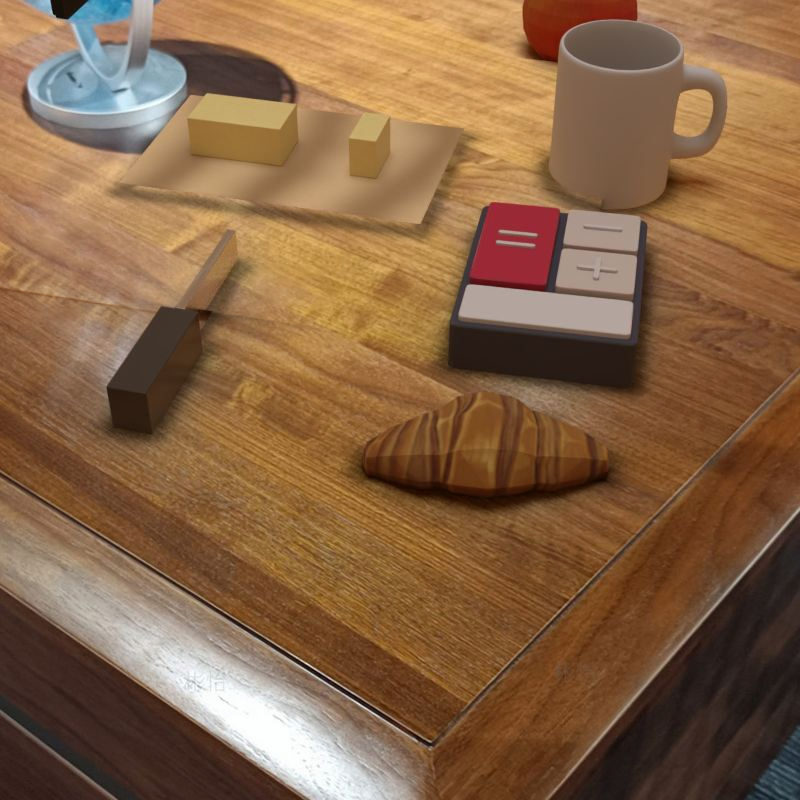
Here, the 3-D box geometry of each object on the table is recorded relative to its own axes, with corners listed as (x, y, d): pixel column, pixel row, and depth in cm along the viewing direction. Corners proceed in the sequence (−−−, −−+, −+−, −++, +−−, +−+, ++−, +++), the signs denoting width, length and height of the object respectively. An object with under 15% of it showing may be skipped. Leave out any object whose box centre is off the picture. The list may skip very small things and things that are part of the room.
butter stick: (190, 154, 99) (186, 117, 97) (210, 129, 102) (206, 92, 100) (282, 166, 98) (279, 129, 96) (298, 140, 101) (296, 103, 99)
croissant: (601, 437, 77) (610, 367, 74) (614, 520, 72) (624, 449, 69) (364, 434, 77) (362, 364, 74) (359, 517, 72) (357, 446, 69)
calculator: (649, 209, 89) (639, 334, 77) (641, 266, 91) (631, 395, 80) (483, 193, 90) (448, 313, 79) (480, 249, 93) (446, 373, 81)
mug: (548, 215, 95) (561, 70, 88) (545, 155, 102) (556, 16, 95) (720, 220, 95) (746, 75, 88) (705, 160, 101) (728, 20, 94)
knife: (153, 442, 76) (145, 393, 74) (114, 436, 77) (105, 386, 75) (253, 278, 89) (249, 231, 87) (218, 273, 90) (214, 226, 87)
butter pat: (349, 175, 97) (348, 137, 95) (364, 148, 100) (363, 111, 98) (376, 179, 96) (376, 141, 94) (390, 152, 99) (390, 115, 97)
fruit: (637, 41, 117) (651, -74, 111) (626, 90, 110) (640, -30, 104) (528, 30, 119) (535, -84, 113) (510, 78, 112) (517, -41, 106)
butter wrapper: (121, 200, 97) (118, 182, 96) (192, 111, 107) (190, 94, 106) (420, 242, 93) (420, 223, 92) (463, 145, 103) (464, 127, 102)
